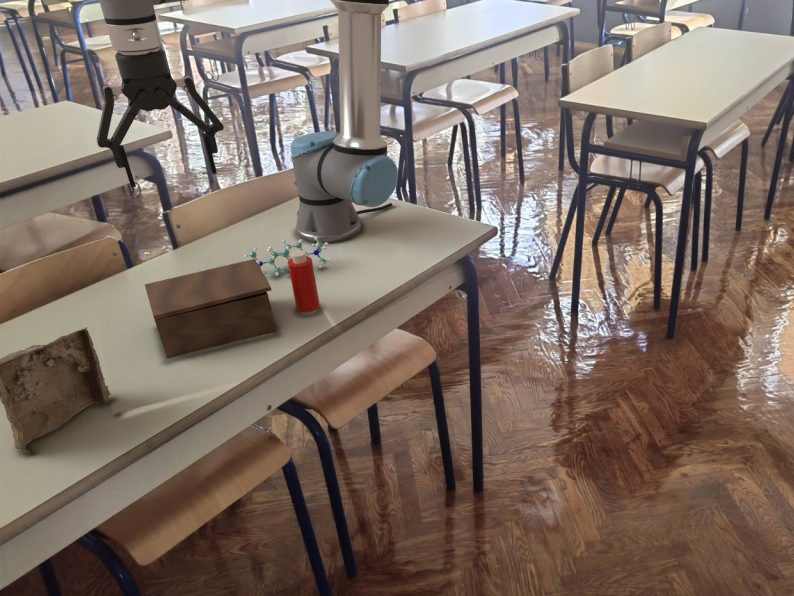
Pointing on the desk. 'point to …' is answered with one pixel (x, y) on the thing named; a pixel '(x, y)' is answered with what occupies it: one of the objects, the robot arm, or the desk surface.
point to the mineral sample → (50, 385)
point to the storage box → (216, 325)
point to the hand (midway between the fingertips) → (173, 178)
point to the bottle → (303, 282)
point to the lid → (206, 288)
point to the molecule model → (286, 253)
